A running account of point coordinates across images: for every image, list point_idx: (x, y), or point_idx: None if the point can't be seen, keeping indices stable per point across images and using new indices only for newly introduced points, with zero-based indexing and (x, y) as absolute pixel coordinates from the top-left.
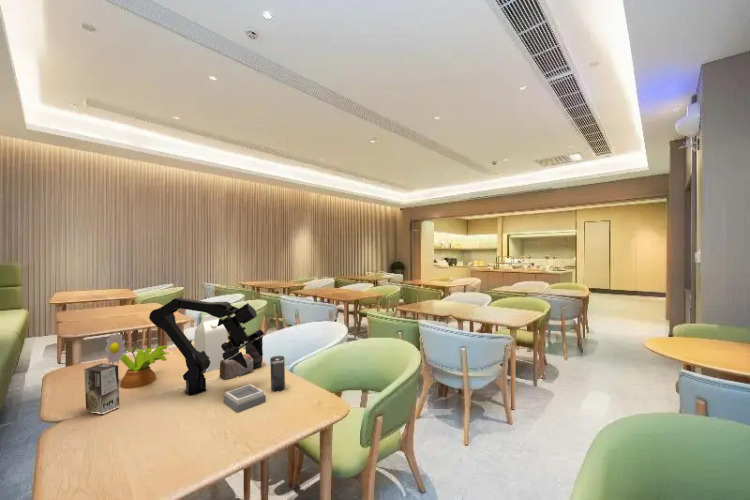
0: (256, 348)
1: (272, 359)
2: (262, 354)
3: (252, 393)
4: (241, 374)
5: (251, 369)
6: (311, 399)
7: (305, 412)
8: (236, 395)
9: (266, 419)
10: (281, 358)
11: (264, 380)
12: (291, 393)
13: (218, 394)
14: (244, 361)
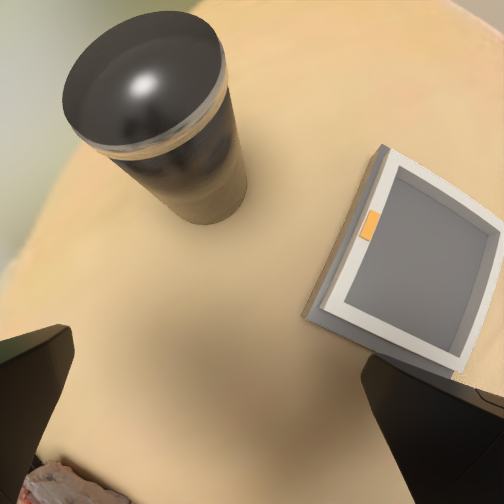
0: (23, 457)
1: (196, 77)
2: (60, 326)
3: (389, 235)
4: (110, 492)
5: (58, 464)
6: (274, 9)
7: (369, 2)
8: (434, 314)
9: (466, 92)
10: (151, 23)
11: (117, 342)
12: (243, 90)
13: (355, 466)
14: (447, 384)
